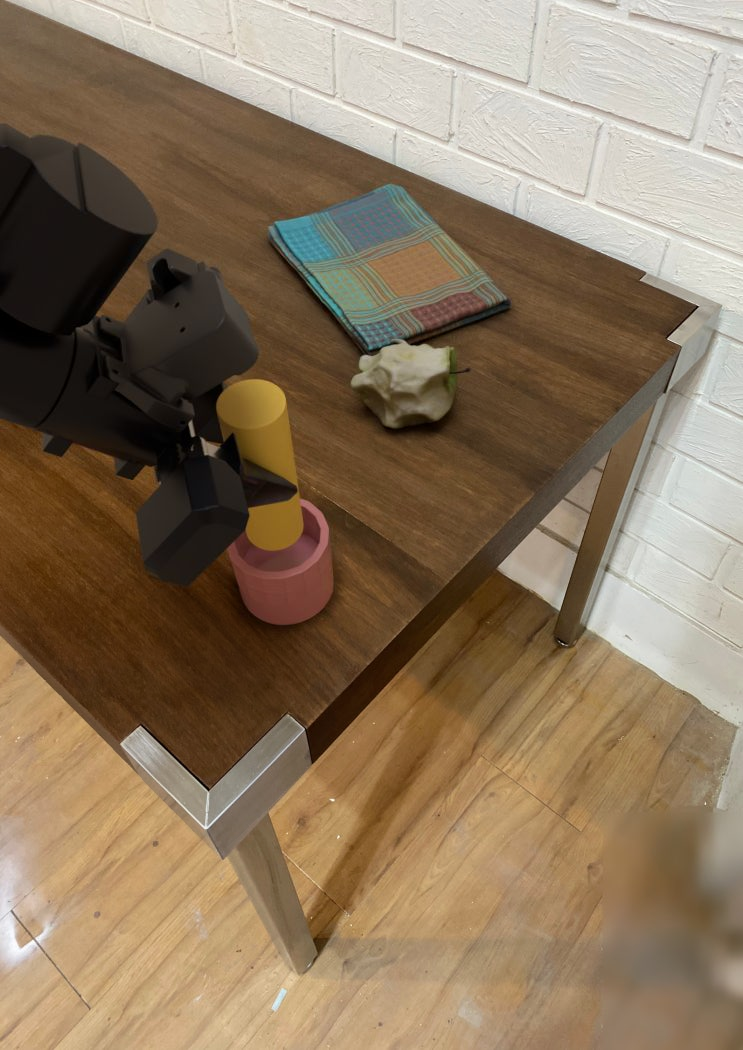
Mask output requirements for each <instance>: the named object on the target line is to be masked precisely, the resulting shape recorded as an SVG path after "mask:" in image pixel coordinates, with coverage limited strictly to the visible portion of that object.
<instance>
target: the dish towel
mask: <svg viewBox="0 0 743 1050" xmlns="http://www.w3.org/2000/svg"><path fill="white" fill-rule="evenodd" d="M267 230H268V232H267V233H266V236H267V239H268V242H270V243H271V245H272V246H273V247H274V248H275V249H276V250H277V252H278V253H279V254H280V255H281V256H282V257H283V258H284V259H285V261H287V263H288V264H289V265H290V266H291V267H292V268H293V269H294V270H295V271H296V272H297V273H298V275H299V276H300V277H301V278H302V279H303V280H304V282H305V283H306V285H307V286H308V287H309V288H310V289H311V290H312V292H313V293H314V294H315V295H316V296H317V298H318V299H319V300H320V301H321V303H322V304H324V305H325V306H326V308H327V309H328V311H330V312H331V313H332V315H333V317H335V319H336V320H337V321H338V323H339V324H340V326H341V327H342V328H343V329H344V330H345V332H346V333H347V334H348V336H349V337H350V338H351V339H352V341H353V342H354V343H355V345H356V346H357V347H358V348H359V350H361V352H362V353H363V355H369V356H375V355H377V354H378V353H379V352H380V350H381V349H382V348H383V347H386V346H390V345H398V343H396V342H392V341H391V340H393V339H401V340H404V341H405V342H406V343H407V344H408V345H410V346H411V345H412V344H415V343H417V342H421V341H422V340H426V339H429V338H431V337H434V336H436V335H439V334H441V333H444V332H448V331H450V330H453V329H456V328H458V327H461V326H464V325H467V324H470V323H473V322H475V321H478V320H479V321H480V320H482V319H483V318H487V317H489V316H491V315H495V314H497V313H500V312H503V311H505V310H507V309H509V308H511V307H512V301H511V298H510V297H509V296H508V295H507V294H506V293H505V292H504V291H503V290H502V289H501V288H500V287H499V286H498V285H497V284H496V283H495V281H494V280H493V279H492V278H491V277H490V276H489V275H488V274H487V273H486V271H485V270H484V269H483V268H482V267H481V266H479V264H478V263H477V262H475V261H474V259H473V258H472V257H471V256H470V255H469V254H468V253H467V252H466V251H465V250H464V249H463V248H462V247H461V246H460V245H459V244H458V242H456V241H455V240H454V239H453V238H452V237H451V236H450V234H448V233H447V232H446V231H445V230H444V229H442V227H441V226H440V225H439V224H438V223H437V222H436V221H435V220H434V219H433V217H431V216H430V215H429V214H428V213H427V212H426V211H425V210H424V209H423V208H422V207H421V205H420V204H419V203H418V202H417V201H416V199H414V197H412V196H411V194H410V193H408V192H407V190H406V189H405V188H404V187H403V186H398V185H396V184H394V183H388V184H386V185H382V186H380V187H378V188H376V189H374V190H372V191H369V192H367V193H364V194H362V195H359V196H357V197H354V198H350V199H348V200H345V201H342V202H340V203H337V204H334V205H332V206H329V207H326V208H325V209H321V210H320V211H317V212H313V213H309V214H306V215H303V216H300V217H296V218H291V219H285V220H277V221H274V223H273V225H269V226H267Z"/></svg>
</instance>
